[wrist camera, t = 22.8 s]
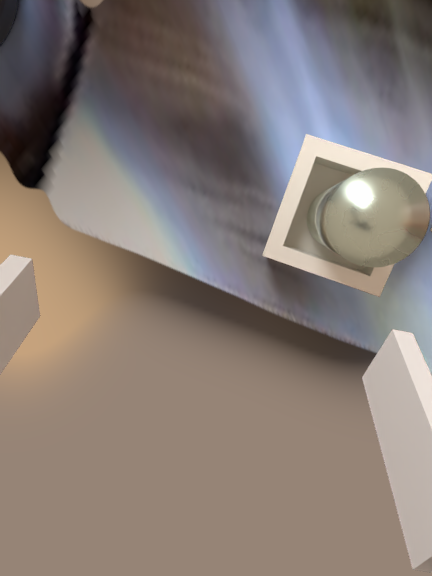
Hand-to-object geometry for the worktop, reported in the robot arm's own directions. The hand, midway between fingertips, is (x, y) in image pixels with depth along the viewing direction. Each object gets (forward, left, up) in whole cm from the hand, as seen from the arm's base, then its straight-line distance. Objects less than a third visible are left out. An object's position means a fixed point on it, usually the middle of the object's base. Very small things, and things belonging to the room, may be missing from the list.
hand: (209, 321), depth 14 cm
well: (+6, +6, -29) cm, 30 cm away
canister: (+6, +6, -28) cm, 29 cm away
